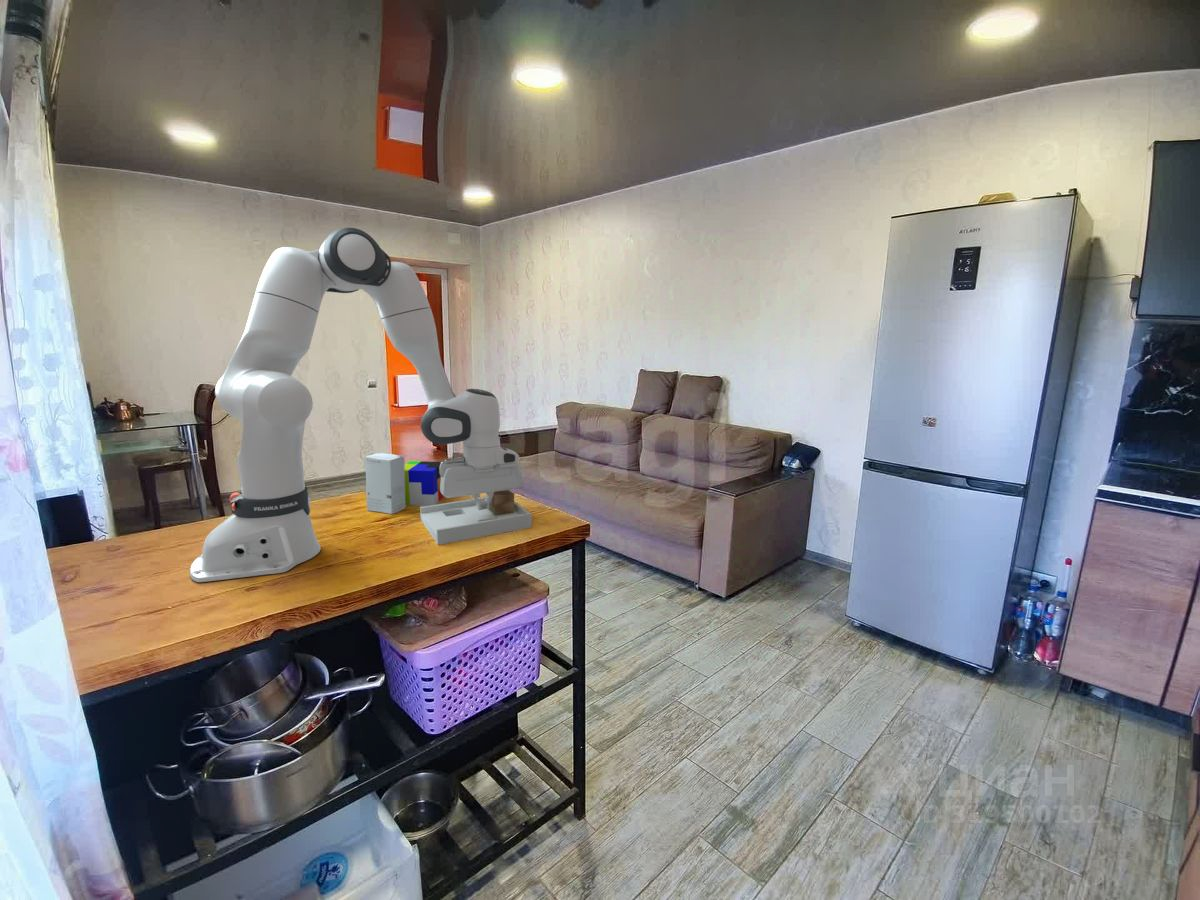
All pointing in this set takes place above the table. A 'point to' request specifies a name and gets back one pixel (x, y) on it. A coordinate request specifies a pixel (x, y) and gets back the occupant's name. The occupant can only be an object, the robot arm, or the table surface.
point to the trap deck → (470, 521)
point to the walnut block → (502, 502)
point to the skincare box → (385, 482)
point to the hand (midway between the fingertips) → (483, 509)
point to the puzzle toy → (422, 483)
